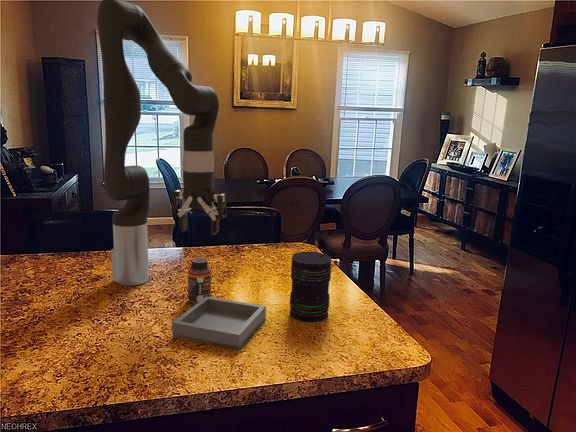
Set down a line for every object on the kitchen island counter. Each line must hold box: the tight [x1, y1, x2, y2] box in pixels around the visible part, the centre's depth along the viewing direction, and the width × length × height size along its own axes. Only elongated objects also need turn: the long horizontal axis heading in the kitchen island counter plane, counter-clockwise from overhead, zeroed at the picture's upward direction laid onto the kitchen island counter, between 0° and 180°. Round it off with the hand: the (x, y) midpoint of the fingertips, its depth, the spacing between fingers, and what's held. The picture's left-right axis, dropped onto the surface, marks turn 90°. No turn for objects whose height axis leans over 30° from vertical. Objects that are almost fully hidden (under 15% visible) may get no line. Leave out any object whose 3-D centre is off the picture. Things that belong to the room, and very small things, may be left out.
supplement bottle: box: [187, 257, 212, 305], centre depth 122 cm, size 6×6×11 cm
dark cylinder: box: [289, 251, 332, 324], centre depth 116 cm, size 10×10×15 cm
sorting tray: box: [171, 296, 267, 351], centre depth 108 cm, size 16×16×4 cm
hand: (199, 232), depth 119 cm, fingers open, 8 cm apart
